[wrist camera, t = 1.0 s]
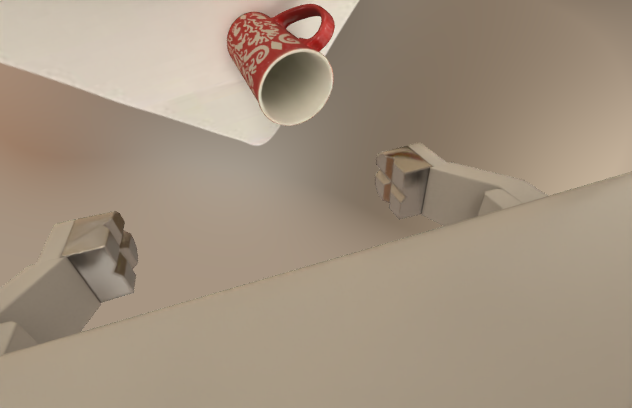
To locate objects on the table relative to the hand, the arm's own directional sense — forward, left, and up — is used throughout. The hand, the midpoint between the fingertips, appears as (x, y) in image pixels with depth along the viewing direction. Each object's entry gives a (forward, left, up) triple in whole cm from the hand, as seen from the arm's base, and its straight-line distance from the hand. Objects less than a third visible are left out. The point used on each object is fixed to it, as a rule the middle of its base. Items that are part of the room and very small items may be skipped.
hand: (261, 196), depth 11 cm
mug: (+17, -2, -37) cm, 41 cm away
